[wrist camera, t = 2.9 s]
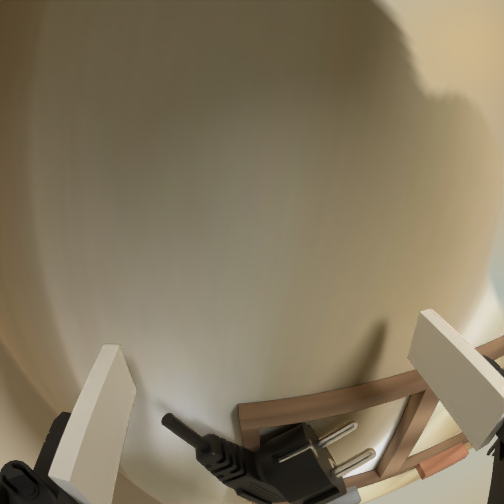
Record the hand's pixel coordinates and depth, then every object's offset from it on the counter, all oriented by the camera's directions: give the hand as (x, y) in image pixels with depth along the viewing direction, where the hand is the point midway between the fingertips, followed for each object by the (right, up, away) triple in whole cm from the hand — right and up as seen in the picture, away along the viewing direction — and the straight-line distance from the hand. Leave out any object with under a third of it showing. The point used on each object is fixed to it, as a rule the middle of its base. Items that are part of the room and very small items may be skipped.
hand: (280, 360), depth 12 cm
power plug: (-2, -1, -1) cm, 3 cm away
